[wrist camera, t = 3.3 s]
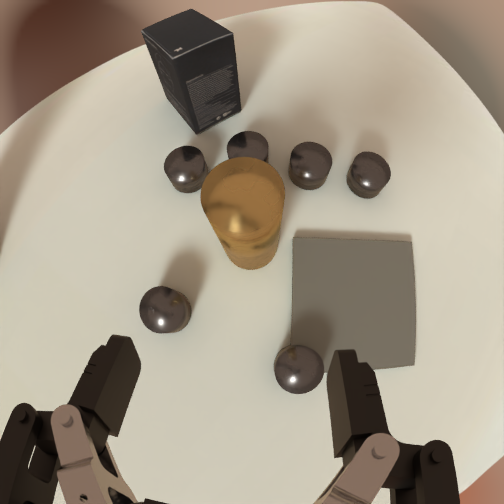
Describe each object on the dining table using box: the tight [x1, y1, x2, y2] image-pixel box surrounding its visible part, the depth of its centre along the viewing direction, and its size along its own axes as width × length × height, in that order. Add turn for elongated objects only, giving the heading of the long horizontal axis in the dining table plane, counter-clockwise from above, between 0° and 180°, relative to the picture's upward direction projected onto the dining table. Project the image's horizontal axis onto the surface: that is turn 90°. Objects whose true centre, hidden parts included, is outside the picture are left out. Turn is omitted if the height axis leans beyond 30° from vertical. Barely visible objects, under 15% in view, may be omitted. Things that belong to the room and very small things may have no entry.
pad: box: [291, 237, 416, 373], centre depth 23 cm, size 11×11×1 cm
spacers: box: [139, 131, 391, 394], centre depth 23 cm, size 21×22×2 cm
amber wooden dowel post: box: [201, 157, 285, 270], centre depth 20 cm, size 4×4×10 cm
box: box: [141, 9, 241, 134], centre depth 24 cm, size 8×6×11 cm
